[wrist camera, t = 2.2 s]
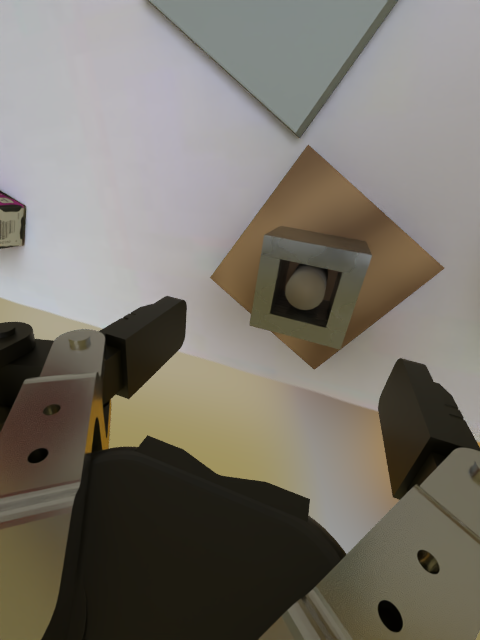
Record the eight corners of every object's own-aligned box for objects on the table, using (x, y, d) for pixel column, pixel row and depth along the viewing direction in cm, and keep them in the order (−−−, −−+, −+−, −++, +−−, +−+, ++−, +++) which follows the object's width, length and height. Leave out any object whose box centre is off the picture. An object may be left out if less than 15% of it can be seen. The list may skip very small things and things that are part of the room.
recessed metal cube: (365, 241, 19) (372, 255, 15) (341, 318, 22) (340, 349, 18) (280, 225, 21) (264, 234, 17) (266, 300, 24) (249, 325, 19)
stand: (437, 263, 20) (471, 288, 15) (315, 360, 26) (308, 402, 21) (310, 147, 20) (298, 132, 14) (216, 273, 26) (184, 294, 20)
